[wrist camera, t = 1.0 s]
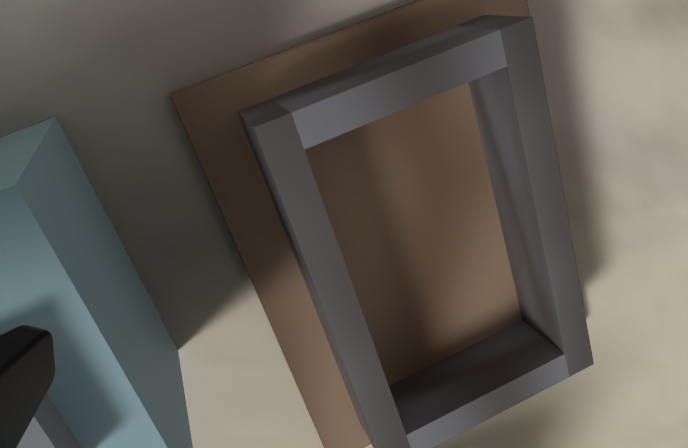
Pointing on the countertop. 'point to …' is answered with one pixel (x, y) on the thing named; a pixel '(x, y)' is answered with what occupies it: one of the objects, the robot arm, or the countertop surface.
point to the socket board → (401, 218)
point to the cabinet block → (82, 306)
